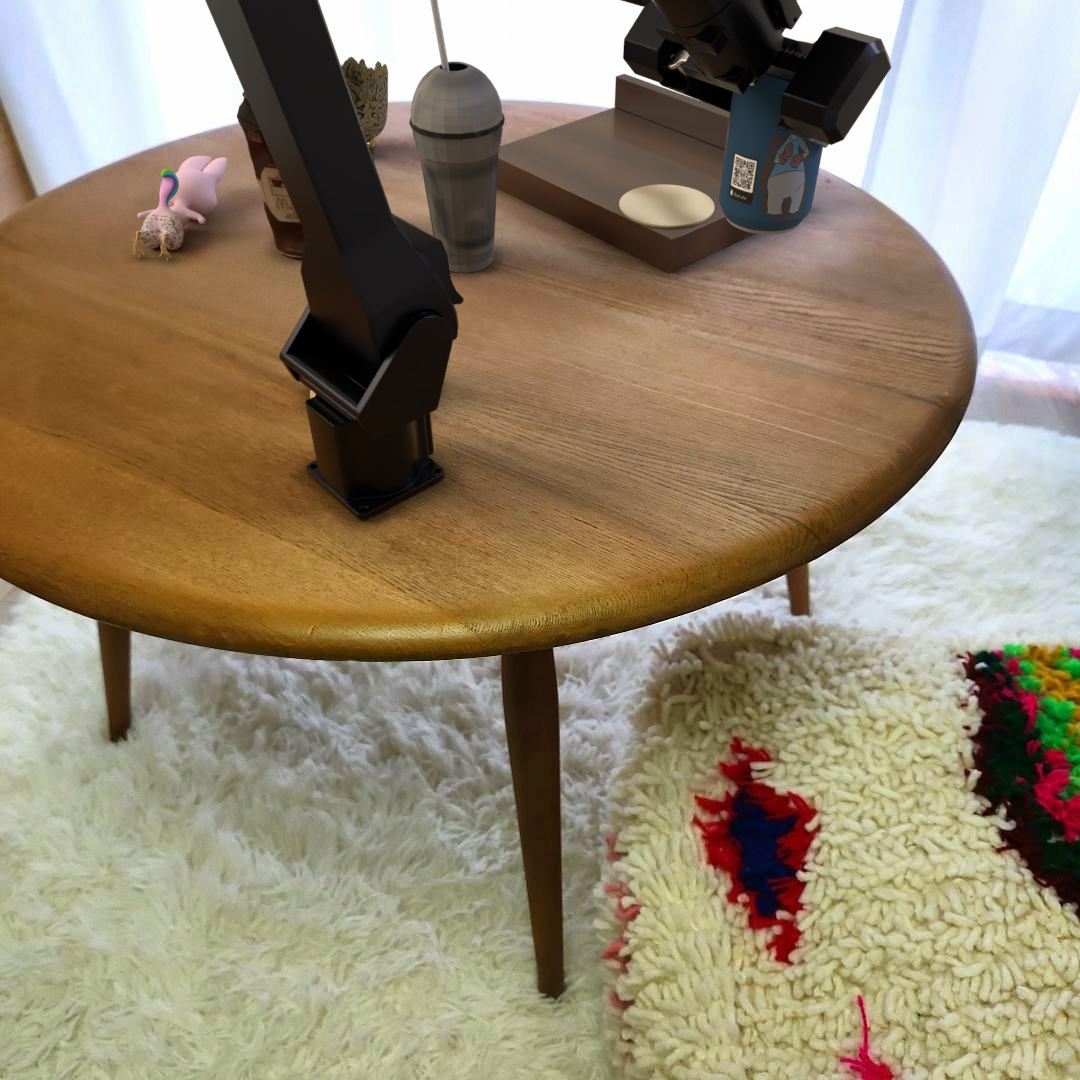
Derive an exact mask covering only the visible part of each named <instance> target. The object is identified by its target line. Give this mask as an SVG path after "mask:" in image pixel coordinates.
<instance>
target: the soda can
mask: <svg viewBox="0 0 1080 1080" xmlns="http://www.w3.org/2000/svg"><path fill="white" fill-rule="evenodd" d="M799 41H800V42H804V43H807V44H813V43H814V42H807V41H803V40H799ZM788 84H789V82H786V81H783V80H780V79H777V78H774V77H771V76H768V75H765V74H763V75H762V76H760V78H759V80H758V81H757V83H756V84H755V85H754V86H748V88H747V89H746V91H745V92H744V94H743V95H742V94H739V93H736V92H733V93H732V101H731V108H730V116H729V124H728V132H727V140H726V147H725V155H724V163H723V171H722V179H721V186H720V194H719V202H720V205H721V208H722V210H723V212H724V214H725V217H726V219H727V221H728V222H729V223H730V224H731V225H733V226H734V227H736V228H738V229H740V230H743V231H746V232H750V233H755V234H756V235H768V236H771V235H782V234H786V233H789V232H791V231H793V230H795V229H797V228H798V226H800V224H801V223H802V222H803V221H804V220H805V218H806V217H807V216H808V215H809V213H810V212H811V210H812V207H813V203H814V197H815V191H816V186H817V181H818V176H819V171H820V165H821V160H822V155H823V149H824V147H821V146H819V145H817V144H814V143H812V142H809V141H807V140H805V139H802V138H800V137H798V136H796V135H793V134H791V133H788V132H786V131H784V130H781V129H779V128H777V124H778V123H779V121H780V120H781V118H782V117H781V115H780V108H781V102H782V96H783V92H784V90H785V89H786V87H787V86H788ZM755 234H754V235H755Z"/></svg>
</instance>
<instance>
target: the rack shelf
mask: <svg viewBox="0 0 1080 1080" xmlns="http://www.w3.org/2000/svg"><path fill="white" fill-rule="evenodd" d="M614 89H615V90H614V107H612V108H609V109H606V110H602V111H600V112H596V113H594V114H591V115H588V116H585V117H582V118H579V119H576V120H573V121H570V122H567V123H564V124H561V125H559V126H558V125H557V126H556V127H552V128H550V129H547V130H543V131H541V132H537V133H535V134H532V135H528V136H526V137H523V138H520V139H517V140H514V141H512V142H509V143H505V144H502V145H500V149H499V152H498V173H497V190H501V191H502V192H504V193H506V194H508V195H510V196H513V197H514V198H517V199H518V200H521V201H524V202H525V203H526V204H529V205H531V206H533V207H535V208H537V209H539V210H541V211H543V212H545V213H547V214H549V215H551V216H552V217H555V218H557V219H560V220H561V221H564V223H565V222H566V223H567V224H569V225H571V226H573V227H575V228H577V229H578V230H579V229H580V230H581V231H584V232H585V233H588V234H589V235H591V236H593V237H595V238H597V239H599V240H602V241H604V242H605V243H608V244H610V245H612V246H614V247H615V248H618V249H620V250H622V251H624V252H626V253H628V254H630V255H632V256H634V257H636V258H638V259H640V260H642V261H644V262H646V263H648V264H650V265H652V266H653V267H656V268H658V269H660V270H662V271H663V272H666V273H669V274H671V273H673V272H675V271H678V270H680V269H682V268H685V267H686V266H688V265H691V264H693V263H695V262H697V261H699V260H702V259H704V258H706V257H709V256H710V255H712V254H714V253H717V252H718V251H719V252H720V251H721V250H723V249H724V248H728V247H729V246H731V245H734V244H736V243H738V242H740V241H742V240H744V239H746V238H749V237H751V236H753V235H755V233H750V232H746V231H743V230H740V229H738V228H736V227H734V226H733V225H731V224H730V223H729V222H728V221H727V219H726V217H725V214H724V212H723V210H722V208H721V205H720V202H719V194H720V186H721V179H722V171H723V163H724V155H725V147H726V140H727V132H728V124H729V116H730V112H727V111H725V110H722V109H720V108H717V107H715V106H712V105H710V104H707V103H705V102H702V101H700V100H697V99H695V98H692V97H689V96H687V95H684V94H682V93H679V92H677V91H674V90H672V89H669V88H667V87H664V86H661V85H657V84H654V83H652V82H649V81H646V80H644V79H640V78H637V77H634V76H632V75H629V74H626V73H621V74H619V75H616V76H615V87H614Z"/></svg>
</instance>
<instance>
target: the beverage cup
mask: <svg viewBox="0 0 1080 1080" xmlns="http://www.w3.org/2000/svg"><path fill="white" fill-rule="evenodd" d="M429 1H430V6H431V12H432V17H433V23H434V29H435V35H436V41H437V46H438V51H439V59H440V64H438V65H436V66H434V67H433V68H431V69H430V70H429V71H428V72H426V74H424V76H422V78H421V79H420V81H419V83H417V86H416V88H415V91H414V93H413V96H412V100H411V104H410V105H411V107H410V117H409V121H408V122H409V123H408V124H409V126H410V128H411V130H412V135H413V139H414V144H415V146H416V149H417V152H418V154H419V161H420V165H421V171H422V176H423V182H424V188H425V194H426V200H427V206H428V212H429V218H430V223H431V224H430V225H431V231H432V236H434V237H436V238H438V239H439V240H441V241H442V243H443V245H444V248H445V250H446V253H447V255H448V262H449V269H450V272H453V273H458V274H459V273H460V274H461V273H462V274H468V273H475V272H479V271H481V270H482V271H483V270H484V269H487V268H488V267H489V266H491V264H492V263H493V260H494V259H493V253H494V244H495V236H496V235H495V234H496V215H497V213H496V211H497V195H498V193H497V191H498V188H497V173H498V152H499V149H500V146H501V144H502V137H503V136H502V135H503V130H504V129H503V128H504V125H505V122H506V121H505V120H506V118H505V114H504V112H503V106H502V105H503V104H502V101H501V98H500V95H499V92H498V91H497V89H496V87H495V85H494V84H493V82H492V81H491V79H490V78H489V77H488V76H487V75H486V74H485V72H483V71H482V70H481V69H479V68H478V67H476V66H474V65H472V64H470V63H467V62H463V61H448V60H449V59H448V54H447V49H446V43H445V38H444V37H445V36H444V31H443V25H442V20H441V14H440V9H439V8H440V7H439V2H438V0H429Z"/></svg>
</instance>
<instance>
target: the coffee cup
mask: <svg viewBox="0 0 1080 1080" xmlns="http://www.w3.org/2000/svg"><path fill="white" fill-rule="evenodd" d="M242 97H243V100H242V102H241V103H240V104H239V106H238V109H237V114H236V119H237V122H238V124H239V125H240V127H241V129H242V131H243V134H244V137H245V140H246V144H247V148H248V153H249V158H250V160H251V162H252V163H251V164H252V168H253V170H254V175H255V179H256V181H257V183H258V186H259V189H260V192H261V196H262V202H263V207H264V208H263V209H264V212H265V213H264V214H265V215H266V219H267V221H268V223H269V226H270V229H271V232H272V236H273V240H274V241H273V242H274V246H275V248H276V251H277V252H278V253H280V254H282V255H284V256H287V257H291V258H297V259H298V258H299V259H302V256H303V248H304V240H305V238H304V232H303V228H302V225H301V223H300V221H299V218H298V216H297V214H296V211H295V209H294V207H293V204H292V202H291V200H290V197H289V195H288V193H287V190H286V188H285V186H284V183H283V181H282V179H281V176H280V174H279V172H278V169H277V167H276V165H275V162H274V160H273V158H272V155H271V153H270V151H269V148H268V146H267V144H266V141H265V139H264V137H263V134H262V132H261V130H260V127H259V125H258V123H257V120H256V118H255V116H254V113H253V111H252V109H251V106H250V104H249V102H248V99H247V97H246V95H245V92H244V91H243V92H242Z"/></svg>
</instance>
